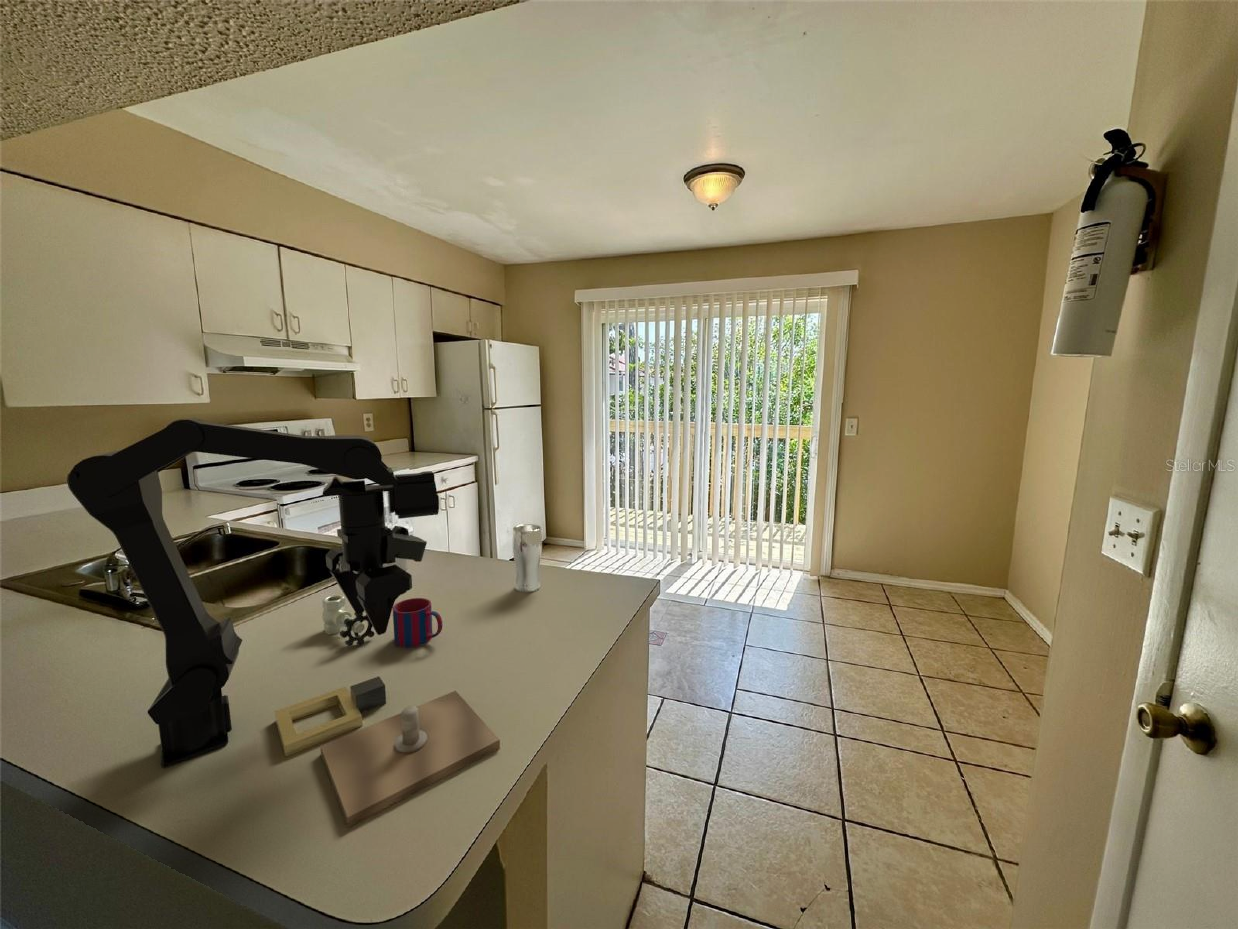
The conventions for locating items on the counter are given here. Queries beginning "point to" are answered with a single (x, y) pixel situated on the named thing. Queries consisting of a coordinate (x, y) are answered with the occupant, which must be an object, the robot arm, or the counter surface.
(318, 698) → the brass link
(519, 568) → the beer glass
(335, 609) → the valve
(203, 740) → the robot arm
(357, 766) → the plate
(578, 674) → the counter surface
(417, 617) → the mug
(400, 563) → the candle
